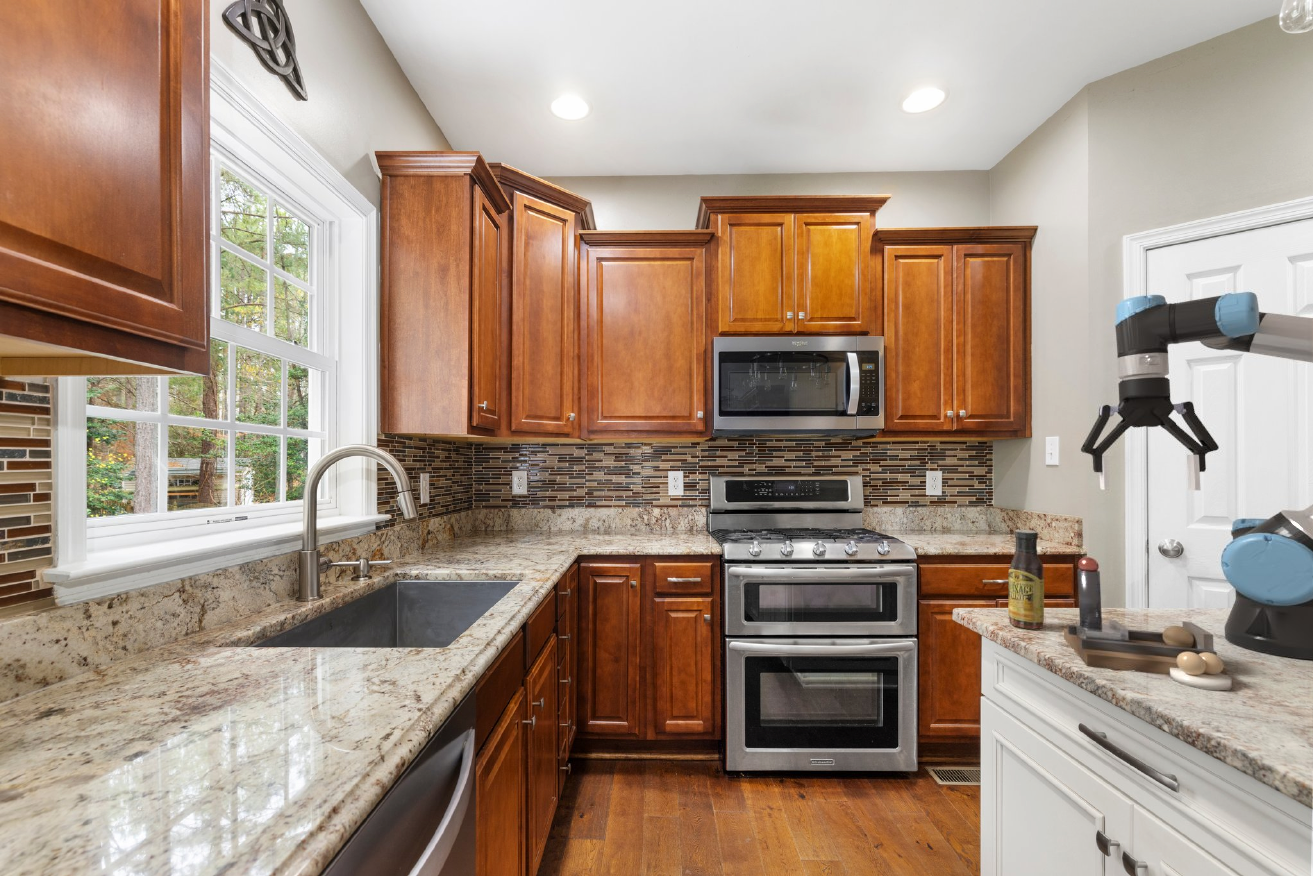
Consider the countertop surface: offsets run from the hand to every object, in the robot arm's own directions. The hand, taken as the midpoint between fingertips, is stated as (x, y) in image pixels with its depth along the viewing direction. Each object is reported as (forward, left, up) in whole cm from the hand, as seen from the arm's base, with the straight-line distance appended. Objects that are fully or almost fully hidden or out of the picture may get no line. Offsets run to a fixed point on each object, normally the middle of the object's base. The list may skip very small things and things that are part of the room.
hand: (1148, 490), depth 110 cm
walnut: (0, +11, -27) cm, 29 cm away
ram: (+11, +11, -26) cm, 31 cm away
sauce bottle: (+20, -4, -29) cm, 35 cm away
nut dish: (+1, +21, -29) cm, 36 cm away
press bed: (+6, +11, -29) cm, 31 cm away
